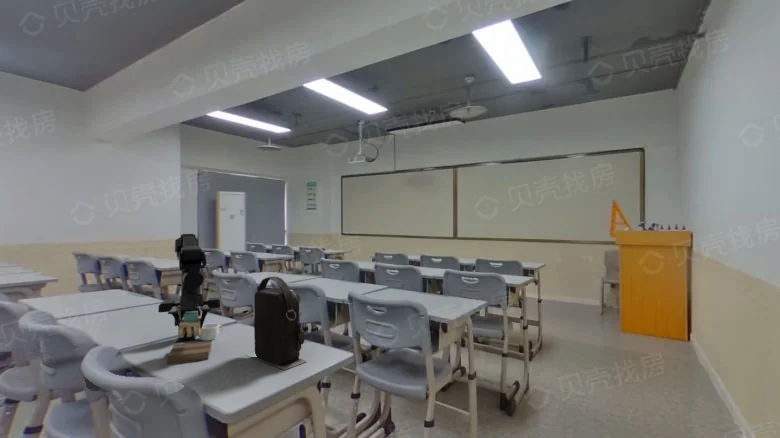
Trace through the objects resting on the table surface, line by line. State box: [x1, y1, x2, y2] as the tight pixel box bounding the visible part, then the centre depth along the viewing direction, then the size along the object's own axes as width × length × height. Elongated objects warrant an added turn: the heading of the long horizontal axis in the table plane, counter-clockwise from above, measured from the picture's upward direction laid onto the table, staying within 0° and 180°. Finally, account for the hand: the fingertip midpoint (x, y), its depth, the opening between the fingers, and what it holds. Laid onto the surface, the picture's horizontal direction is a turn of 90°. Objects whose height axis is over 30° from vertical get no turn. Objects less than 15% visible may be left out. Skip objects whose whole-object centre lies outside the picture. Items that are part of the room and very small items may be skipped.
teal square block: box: [184, 311, 198, 322], centre depth 126 cm, size 4×4×2 cm
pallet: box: [179, 315, 202, 338], centre depth 126 cm, size 10×6×4 cm, turn 22°
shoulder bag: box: [253, 276, 308, 371], centre depth 123 cm, size 23×9×28 cm, turn 53°
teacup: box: [197, 322, 224, 342], centre depth 144 cm, size 10×8×5 cm
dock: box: [166, 340, 212, 365], centre depth 125 cm, size 13×12×2 cm
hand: (190, 329), depth 126 cm, fingers closed on pallet, 6 cm apart
